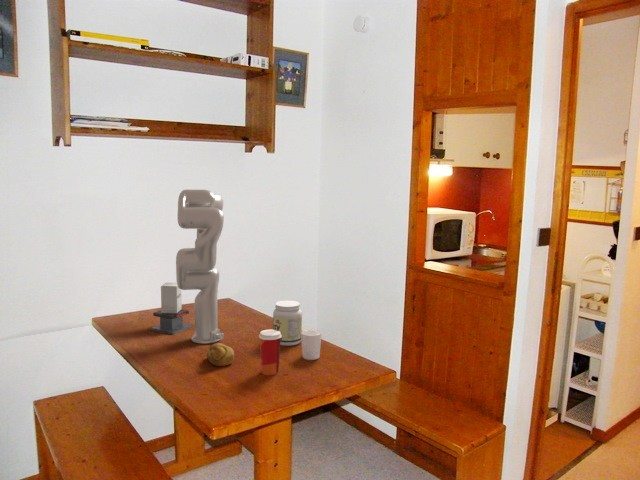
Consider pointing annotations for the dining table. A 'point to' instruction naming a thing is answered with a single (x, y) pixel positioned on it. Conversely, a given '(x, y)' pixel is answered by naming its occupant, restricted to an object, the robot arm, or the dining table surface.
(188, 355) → the dining table surface
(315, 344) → the white cup
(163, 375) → the dining table surface
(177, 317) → the jack stand
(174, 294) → the supplement box
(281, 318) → the supplement tub
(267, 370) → the coffee cup
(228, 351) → the bread roll
